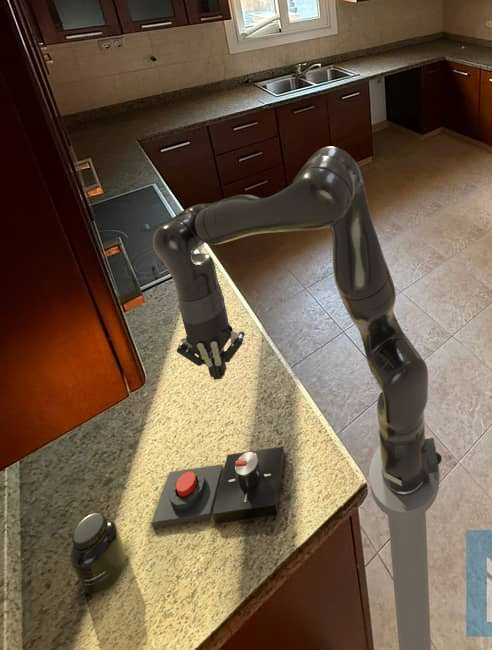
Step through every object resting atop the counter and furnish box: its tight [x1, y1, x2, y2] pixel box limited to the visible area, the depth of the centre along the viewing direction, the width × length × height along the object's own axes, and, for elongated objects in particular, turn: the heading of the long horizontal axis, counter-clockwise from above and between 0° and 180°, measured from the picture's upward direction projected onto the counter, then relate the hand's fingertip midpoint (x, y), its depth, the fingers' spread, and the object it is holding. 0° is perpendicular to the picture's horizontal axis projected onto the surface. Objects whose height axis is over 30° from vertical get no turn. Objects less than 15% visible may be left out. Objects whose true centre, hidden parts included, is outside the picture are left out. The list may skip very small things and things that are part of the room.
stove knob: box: [235, 451, 261, 490], centre depth 88 cm, size 4×4×5 cm
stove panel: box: [212, 446, 286, 525], centre depth 89 cm, size 12×11×3 cm
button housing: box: [150, 464, 224, 529], centre depth 88 cm, size 11×9×4 cm
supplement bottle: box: [69, 511, 127, 595], centre depth 76 cm, size 7×7×12 cm
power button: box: [176, 472, 197, 497], centre depth 87 cm, size 4×4×2 cm
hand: (219, 375), depth 87 cm, fingers closed
